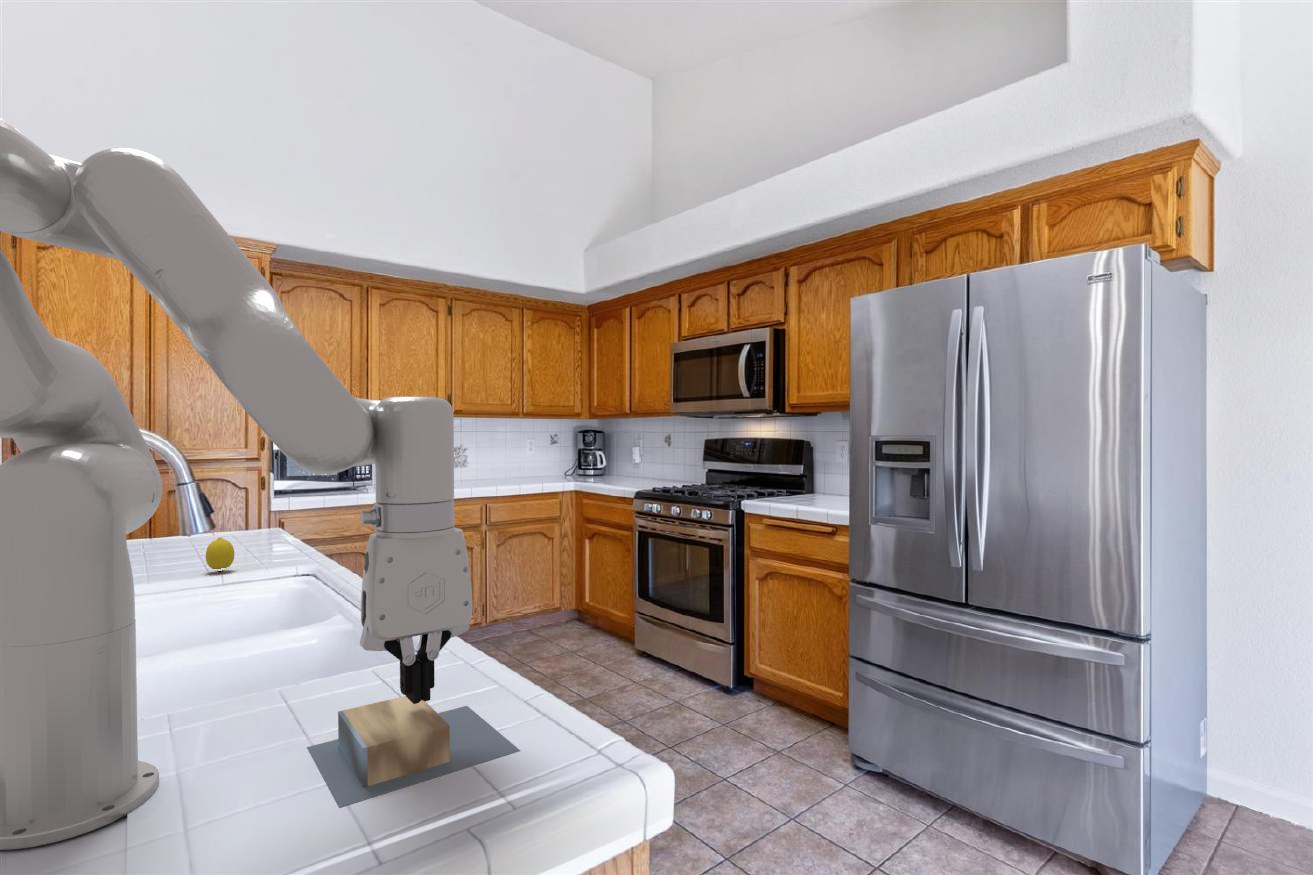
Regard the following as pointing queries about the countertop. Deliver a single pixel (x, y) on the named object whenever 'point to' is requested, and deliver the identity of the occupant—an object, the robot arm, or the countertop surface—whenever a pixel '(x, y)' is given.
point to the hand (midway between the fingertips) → (417, 697)
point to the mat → (467, 748)
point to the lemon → (219, 554)
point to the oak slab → (392, 739)
